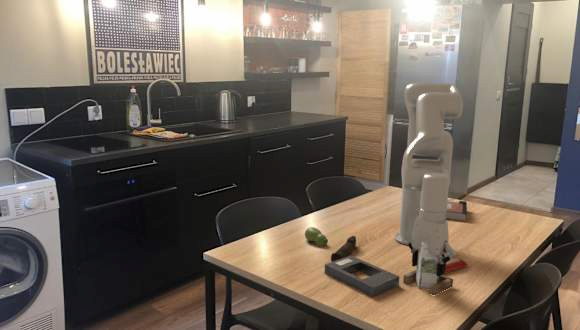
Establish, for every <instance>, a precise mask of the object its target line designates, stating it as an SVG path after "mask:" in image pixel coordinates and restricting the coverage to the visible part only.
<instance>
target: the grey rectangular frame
mask: <svg viewBox="0 0 580 330" xmlns="http://www.w3.org/2000/svg"><path fill="white" fill-rule="evenodd" d="M357 272H362V273H364V274H366V275H369V276H367V277H364V278H361V277H358V276H356V275H354V273H357ZM324 274H325V275H327V276H329V277H331V278H334V279H336V280H337V281H339V282H341V283H344V284H345V285H347V286H349V287H351V288H353V289H355V290H358V291H359V292H362V293H363V294H366V295H368V296H370V297H371V298H373V297H376V296H378V295H381V294H383V293H385V292H387V291H390V290H392V289H394V288H395V289H396V287H399V286H400V275H398V274H395V273H393V272H390V271H387V270H385V269H384V268H381V267H378V266H376V265H374V264H372V263H370V262H367V261H365V260H362V259H360V258H357V257H355V256H353V255H347V256H346V257H345V258H342V259H339V260H336V261H333V262H332V261H331V262H328V263H325V264H324Z"/></svg>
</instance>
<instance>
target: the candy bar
mask: <svg viewBox="0 0 580 330" xmlns="http://www.w3.org/2000/svg"><path fill="white" fill-rule="evenodd" d="M467 266H468V264H467V262H466V261H465V260H463V259H462V258H460V257H455V258H452V259H451V260H450V261H448V262H446V269H445V273H446V272H447V273H451V272H453V271H457V270H460V268H461V269H464V268H465V267H467ZM463 267H464V268H463ZM445 273H444V274H445ZM447 273H446V274H447Z"/></svg>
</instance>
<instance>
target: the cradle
mask: <svg viewBox="0 0 580 330" xmlns="http://www.w3.org/2000/svg"><path fill="white" fill-rule="evenodd" d="M416 270H417V269H415V270H412V271H410V272H408V273H406V274H403V280H402V282H403V284H406V285H408V284H410V283H413V282H414V281H416ZM453 283H454V279H453V278H452V277H448V276H446V275H444V274H443V275H441V276H439V280H438V284H436V285H434V286H431V289H430V294H432V295H435V296H437V295H439V294H441V293H443V292H444V290H445V291H447V290H449V289H451V288H453ZM450 287H451V288H450ZM448 288H449V289H448ZM446 289H447V290H446ZM442 291H443V292H442ZM440 292H441V293H440ZM438 293H439V294H438ZM436 294H437V295H436ZM432 295H431V296H432Z"/></svg>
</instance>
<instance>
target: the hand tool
mask: <svg viewBox="0 0 580 330" xmlns="http://www.w3.org/2000/svg"><path fill="white" fill-rule="evenodd" d="M356 245H357V237H356V236H355V235H352V236H351V235H350V237H348V238H347V239H346V242H345V243H344V244H343V245H342V246H341V247H340V248H339V249H338V250H336V251H335V252H333V253H331V255H330V261H331V262H333V261H336V260H339V259H342V258H345V257H348V256H349V254H350V253H351V252H354V251H355V249H356Z"/></svg>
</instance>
